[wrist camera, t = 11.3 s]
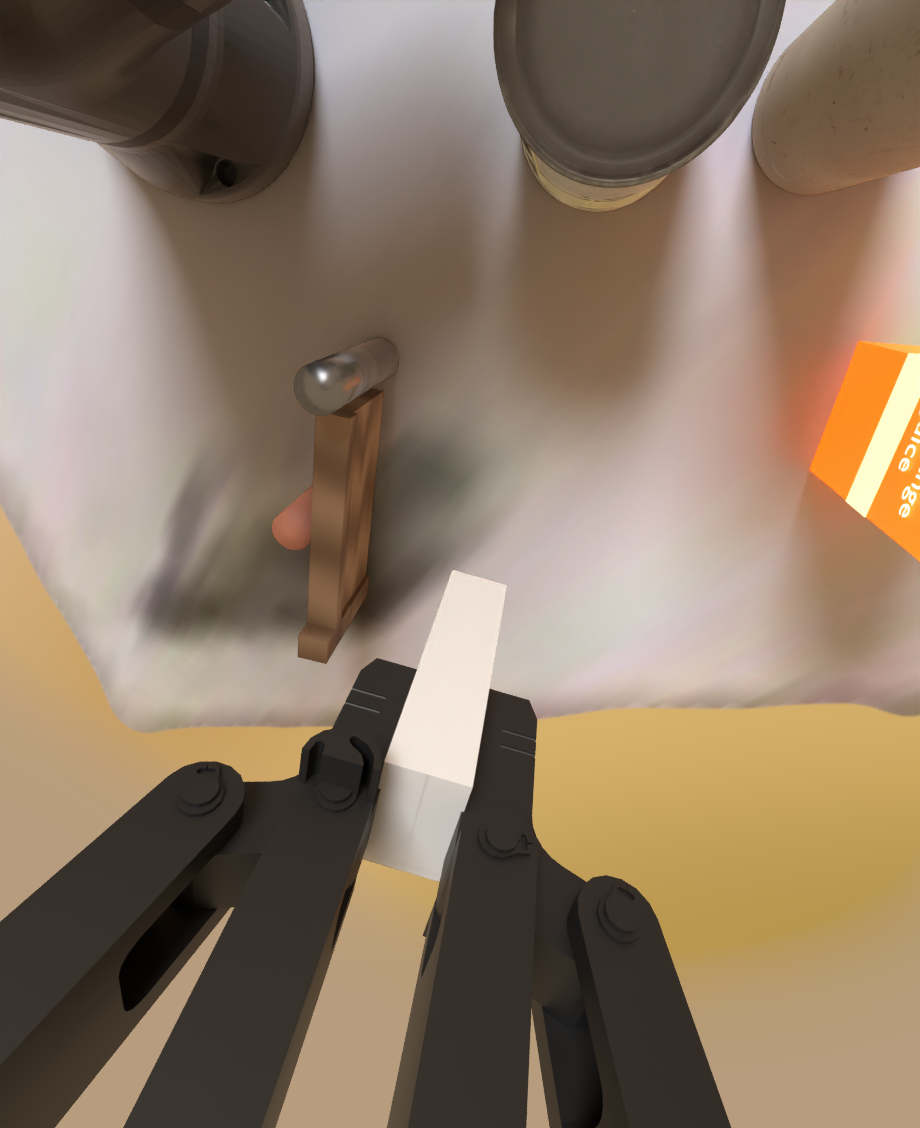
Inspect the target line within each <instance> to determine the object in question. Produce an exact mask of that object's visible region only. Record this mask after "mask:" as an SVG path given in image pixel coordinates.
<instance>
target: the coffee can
mask: <svg viewBox="0 0 920 1128" xmlns="http://www.w3.org/2000/svg"><path fill="white" fill-rule="evenodd" d="M785 2H786V0H496V1H495V9H494V54H495V63H496V69H497V75H498V80H499V84H500V88H501V92H502V95H503V98H504V102H505V104H506V107H507V110H508V112H509V114H510V116H511V118H512V121H513V122H514V124H515V126H516V128H517V130H518V132H519V134H520V136H521V139H522V144H523V148H524V152H525V155H526V158H527V161H528V163H529V165H530V167H531V169H532V171H533V173H534V175H535V176H536V178H537V180H538V181H539V183H540V184H541V185H542V186H543V187H544V189H546V190H547V191H548V192H549V193H550V194H551V195H552V196H553V197H555V198H556V199H557V200H559V201H560V202H562V203H564V204H566V205H568V206H570V207H573V208H576V209H580V210H584V211H591V212H602V211H609V210H614V209H618V208H621V207H624V206H626V205H629V204H631V203H633V202H635V201H637V200H639V199H640V198H642V197H643V196H645V195H646V194H648V193H649V192H650V191H652V190H653V189H654V188H655V187H656V186H658V185H659V184H660V183H661V182H662V181H663V180H664V179H665V177H666V176H668V175H669V174H670V173H672V172H674V171H676V170H677V169H679V168H681V167H682V166H684V165H685V164H687V163H688V162H690V161H691V160H693V159H694V158H696V157H697V156H698V155H699V154H701V153H702V152H703V151H704V150H706V149H707V148H708V147H709V146H710V145H711V144H712V143H713V142H714V141H715V140H716V139H717V138H718V137H719V136H720V135H721V134H722V133H723V132H724V131H725V130H726V129H727V128H728V127H729V125H730V124H731V123H732V122H733V121H734V119H735V118H736V116H737V115H738V113H739V112H740V111H741V109H742V108H743V106H744V105H745V103H746V102H747V101H748V99H749V97H750V96H751V94H752V92H753V91H754V89H755V87H756V85H757V84H758V82H759V80H760V78H761V76H762V74H763V72H764V70H765V67H766V65H767V63H768V61H769V58H770V55H771V53H772V50H773V47H774V45H775V42H776V39H777V35H778V32H779V29H780V25H781V21H782V16H783V12H784V7H785Z"/></svg>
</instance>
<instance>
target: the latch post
mask: <svg viewBox="0 0 920 1128" xmlns="http://www.w3.org/2000/svg"><path fill="white" fill-rule="evenodd" d="M312 492H313V485H312V486H311V487H310V488H308V489H307V490H306V491H305V492H304V493H303V494H302V495H300V496H299V497H298V498H297V499H296V500H295V501H294V502H293V503H291V504H290V505H289V506H288V507H287V508H286V509H285V510H283V511H282V512H281V513H280V514H279V515H278V516H277V517H276V518H275V519H274V520H273V523H272V532H273V535H274V537H275V538H276V540H277V541H278V542H279V543H280V544H281V545H282V546H284V547H286V548H288V549H292V550H300V549H303V548H305V547H306V546H307V545H308V544H309V543H310V542H311V517H312Z"/></svg>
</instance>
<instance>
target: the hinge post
mask: <svg viewBox="0 0 920 1128" xmlns="http://www.w3.org/2000/svg"><path fill="white" fill-rule="evenodd" d="M398 363H399V357H398V353H397V351H396V349H395V347H394V346H393V345H392V344H391V343H390V342H389V341H387V340H385V339H381V338H376V339H372V340H370V341H367V342H364V343H362V344H359V345H357V346H354V347H352V348H349V349H346V350H344V351H341V352H339V353H336V354H333V355H331V356H328V357H326V358H323V359H321V360H318V361H315V362H313V363H310V364H308V365H305V366H304V367H302V368H301V369H300V370H299V371H298V373H297V374H296V377H295V380H294V391H295V395H296V398H297V400H298V401H299V403H300V404H301V406H302V407H303V408H304V409H306V410H307V411H308V412H310V413H312V414H314V415H319V416H326V415H329V414H332V413H333V412H335V411H336V410H338V409H340V408H341V407H343V406H344V405H346V404H347V403H349V402H351V401H352V400H354V399H355V398H357V397H358V396H360V395H361V394H363V393H365V392H366V391H368V390H369V389H371V388H372V387H374V386H375V385H377V384H379V383H380V382H382V381H383V380H385V379H386V378H388V377H390V376H391V375H392V374H393V373H394V372H395V371H396V369H397V367H398Z"/></svg>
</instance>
